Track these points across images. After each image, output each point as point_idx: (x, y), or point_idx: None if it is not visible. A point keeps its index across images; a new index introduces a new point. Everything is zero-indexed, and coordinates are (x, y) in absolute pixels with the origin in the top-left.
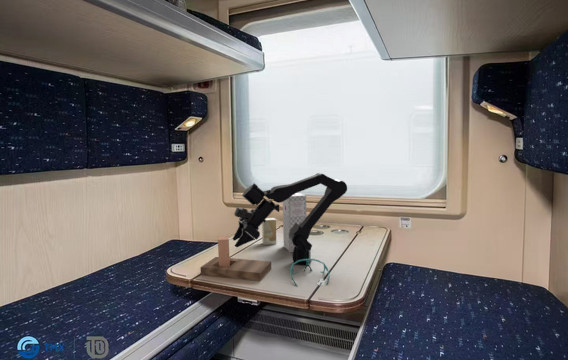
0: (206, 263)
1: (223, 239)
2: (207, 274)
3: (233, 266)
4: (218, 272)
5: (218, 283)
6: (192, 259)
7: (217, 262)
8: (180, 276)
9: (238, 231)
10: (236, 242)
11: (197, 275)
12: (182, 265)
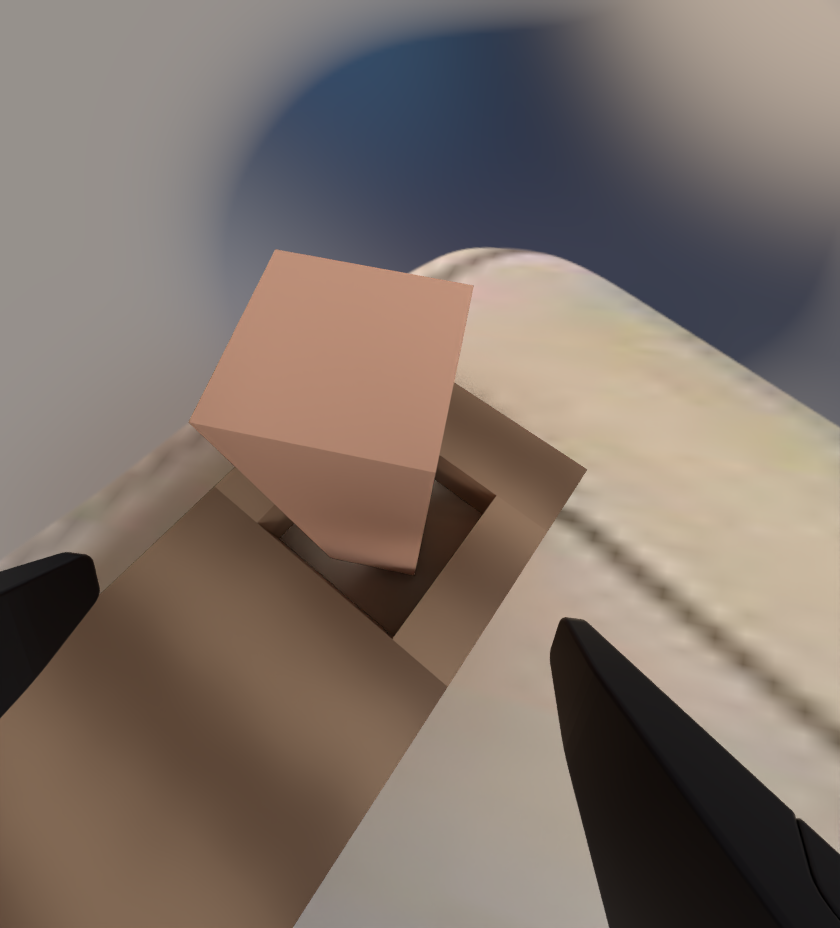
0: None
1: (245, 332)
2: None
3: (251, 569)
4: None
5: (172, 441)
6: (701, 362)
7: (445, 462)
8: None
9: (723, 907)
10: (4, 586)
11: None
12: (594, 302)
